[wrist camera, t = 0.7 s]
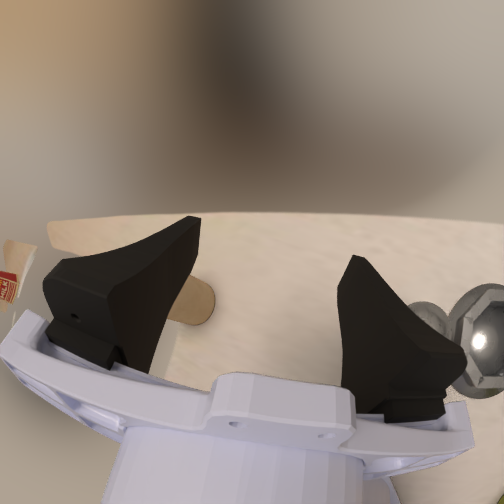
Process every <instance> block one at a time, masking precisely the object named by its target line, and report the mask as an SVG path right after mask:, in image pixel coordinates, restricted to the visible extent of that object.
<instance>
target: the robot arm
mask: <svg viewBox="0 0 504 504" xmlns="http://www.w3.org/2000/svg"><path fill="white" fill-rule="evenodd" d="M200 227H201V218H198V217H193V216H187V217H185V218H183V219H181V220H179V221H178V222H176V223H174V224H172V225H170V226H169V227H167V228H165V229H163V230H161V231H159V232H157V233H155V234H153V235H151V236H149V237H147V238H145V239H143V240H140V241H138V242H136V243H133V244H130V245H128V246H125V247H122V248H118V249H115V250H112V251H108V252H104V253H100V254H95V255H90V256H84V257H77V258H68V259H62V260H61V261H60V262H59V263H58V264H57V265H56V266H55V267H54V268H53V270H52V271H51V272H50V273H49V274H48V275H47V276H46V277H45V278H44V280H43V292H44V295H45V298H46V300H47V303H48V305H49V307H50V310H51V312H52V314H53V316H54V319H53V320H52V322H51V323H49V322H48V321H47V320H46V319H45V318H43V317H42V316H40V315H38V314H36V313H34V312H33V311H31V310H29V309H27V310H26V311H25V312H24V313H23V315H22V316H21V317H20V318H19V320H18V321H17V322H16V324H15V325H14V326H13V328H12V329H11V331H10V332H9V333H8V335H7V336H6V338H5V339H4V340H3V342H2V343H1V345H0V358H1V359H2V360H3V361H4V363H5V364H6V365H7V366H8V368H9V369H10V370H11V371H12V372H13V374H14V375H15V376H16V377H17V378H18V379H19V380H20V382H21V383H22V384H23V385H25V386H26V387H27V388H29V389H30V390H32V391H33V392H34V393H36V394H37V395H39V396H40V397H42V398H43V399H44V400H46V401H47V402H49V403H50V404H52V405H53V406H55V407H56V408H58V409H59V410H61V411H63V412H64V413H66V414H67V415H69V416H71V417H72V418H74V419H75V420H77V421H79V422H81V423H82V424H84V425H86V426H88V427H89V428H91V429H93V430H95V431H97V432H98V433H100V434H102V435H104V436H106V437H108V438H110V439H112V440H114V441H116V442H118V443H120V444H121V445H120V448H119V451H118V454H117V456H116V459H115V462H114V465H113V468H112V470H111V473H110V476H109V479H108V482H107V485H106V488H105V491H104V494H103V497H102V500H101V504H401V502H400V500H399V498H398V495H397V493H396V490H395V488H394V486H393V483H392V481H391V479H390V476H395V475H400V474H405V473H409V472H414V471H418V470H422V469H426V468H430V467H434V466H438V465H440V464H442V463H444V462H446V461H448V460H450V459H452V458H454V457H456V456H458V455H460V454H462V453H464V452H466V451H468V450H469V449H471V448H473V447H474V446H475V444H474V438H473V433H472V428H471V423H470V418H469V414H468V410H467V406H466V402H465V401H456V402H449V403H447V404H445V405H444V402H443V399H444V398H445V397H446V396H447V394H446V390H445V389H446V388H448V387H449V386H450V385H451V384H452V383H453V382H454V381H456V380H457V379H458V378H459V377H460V376H461V375H462V374H463V372H464V371H465V369H466V367H467V364H468V361H467V357H466V355H465V352H464V350H463V348H462V347H461V346H459V345H458V344H456V343H454V342H453V341H451V340H449V339H448V338H446V337H444V336H443V335H442V334H440V333H439V332H437V331H436V330H435V329H433V328H432V327H431V326H429V325H428V324H427V323H426V322H424V321H423V320H422V319H421V318H420V317H419V316H417V315H416V314H415V313H414V312H413V311H412V310H411V309H410V308H409V307H408V306H407V305H406V304H405V303H404V302H403V301H402V300H401V299H400V298H399V297H398V296H397V294H396V293H395V292H394V291H393V290H392V289H391V288H390V286H389V285H388V284H387V283H386V282H385V281H384V279H383V278H382V277H381V276H380V274H379V273H378V272H377V271H376V270H375V268H374V267H373V266H372V265H371V264H370V263H369V262H368V261H367V260H366V259H365V258H364V257H360V256H357V255H352V258H351V260H350V262H349V264H348V266H347V268H346V270H345V272H344V275H343V277H342V279H341V281H340V283H339V285H338V287H337V306H338V314H339V322H340V329H341V337H342V348H343V360H342V380H341V387H338V386H335V385H327V384H319V383H311V382H304V381H297V380H291V379H284V378H279V377H273V376H267V375H262V374H257V373H248V372H232V373H227V374H223V375H220V376H219V377H218V378H217V379H216V380H215V381H214V382H213V384H212V388H211V392H208V391H202V390H198V389H194V388H190V387H187V386H183V385H180V384H177V383H173V382H170V381H167V380H164V379H161V378H158V377H155V376H152V375H149V374H148V373H149V370H150V366H151V363H152V359H153V356H154V353H155V350H156V347H157V344H158V341H159V338H160V335H161V333H162V330H163V327H164V324H165V322H166V319H167V317H168V314H169V312H170V310H171V308H172V306H173V304H174V302H175V300H176V298H177V296H178V295H179V293H180V291H181V289H182V287H183V286H184V284H185V282H186V280H187V278H188V276H189V275H190V273H191V271H192V268H193V266H194V263H195V261H196V258H197V256H198V248H199V237H200Z"/></svg>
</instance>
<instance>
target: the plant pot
mask: <svg viewBox="0 0 504 504" xmlns="http://www.w3.org/2000/svg"><path fill="white" fill-rule="evenodd" d="M498 504H504V495H503V496H502V498H501V499H500V500H499V502H498Z"/></svg>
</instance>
